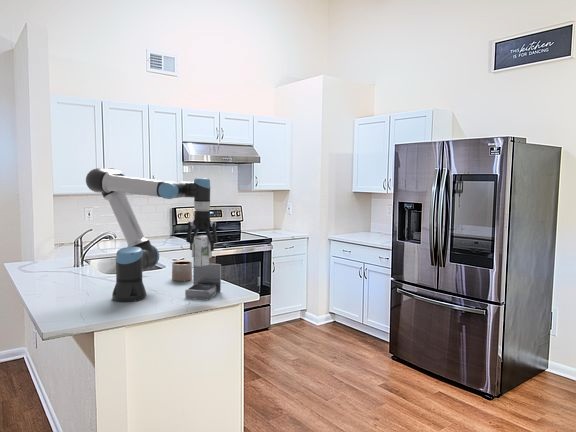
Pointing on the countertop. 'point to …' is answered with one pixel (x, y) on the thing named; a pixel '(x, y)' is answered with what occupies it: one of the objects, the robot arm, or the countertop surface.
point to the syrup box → (201, 251)
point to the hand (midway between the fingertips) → (201, 257)
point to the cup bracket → (205, 282)
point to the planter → (181, 271)
